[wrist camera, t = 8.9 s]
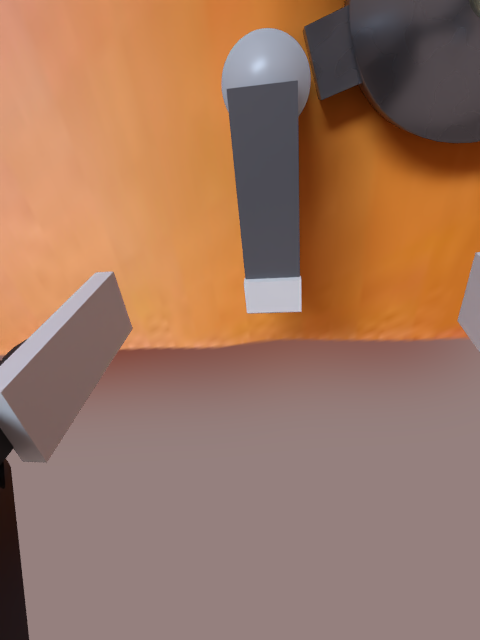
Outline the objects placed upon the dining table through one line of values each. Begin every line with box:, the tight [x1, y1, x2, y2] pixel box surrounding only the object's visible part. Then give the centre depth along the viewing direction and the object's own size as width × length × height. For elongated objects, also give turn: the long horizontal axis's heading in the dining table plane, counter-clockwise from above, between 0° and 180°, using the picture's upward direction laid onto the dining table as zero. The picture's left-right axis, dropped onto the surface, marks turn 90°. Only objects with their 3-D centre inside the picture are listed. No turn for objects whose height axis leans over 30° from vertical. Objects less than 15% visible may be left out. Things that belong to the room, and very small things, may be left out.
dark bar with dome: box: [222, 28, 311, 313], centre depth 17 cm, size 11×4×8 cm, turn 5°
